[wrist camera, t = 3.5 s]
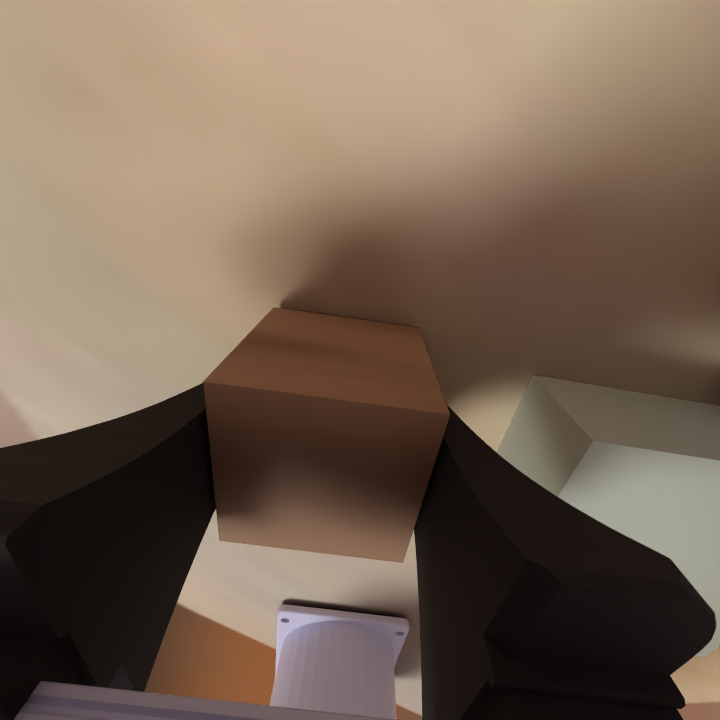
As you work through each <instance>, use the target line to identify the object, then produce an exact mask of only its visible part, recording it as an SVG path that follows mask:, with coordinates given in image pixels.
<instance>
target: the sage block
mask: <svg viewBox="0 0 720 720" xmlns="http://www.w3.org/2000/svg"><path fill="white" fill-rule="evenodd" d="M497 453H498V454H499V455H500V456H501V457H503V458H504V459H505V460H506V461H508V462H509V463H510V464H511V465H513V466H514V467H515V468H517V469H518V470H519V471H521V472H522V473H523V474H525V475H526V476H528V477H529V478H530V479H532V480H533V481H535V482H536V483H538V484H539V485H541V486H542V487H544V488H545V489H547V490H548V491H550V492H551V493H553V494H554V495H556V496H557V497H559V498H560V499H562V500H564V501H565V502H567V503H568V504H570V505H572V506H573V507H575V508H577V509H578V510H580V511H582V512H584V513H585V514H587V515H589V516H591V517H592V518H594V519H596V520H597V521H599V522H601V523H603V524H604V525H606V526H608V527H610V528H612V529H614V530H616V531H618V532H620V533H622V534H623V535H625V536H627V537H629V538H631V539H633V540H635V541H637V542H639V543H641V544H643V545H645V546H647V547H649V548H651V549H653V550H655V551H657V552H659V553H661V554H663V555H664V556H666V557H668V558H670V559H671V560H672V561H673V562H674V564H675V565H676V566H677V567H678V568H679V570H680V571H681V572H682V573H683V574H684V576H685V577H686V578H687V579H688V581H689V582H690V583H691V584H692V585H693V587H694V588H695V589H696V590H697V592H698V593H699V594H700V595H701V596H702V598H703V599H704V600H705V601H706V602H707V604H708V605H709V606H710V607H711V609H712V610H713V611H714V612H715V617H716V623H717V624H716V630H715V633H714V635H713V637H712V640H711V641H710V642H709V643H708V644H707V645H706V646H705V647H704V648H703V649H702V650H701V651H700V652H699V653H697V654H696V655H695V656H697V657H706V656H707V655H709V654H710V653H711V652H713V651H714V650H716V649H717V648H718V647H720V406H719V405H713V404H707V403H701V402H695V401H689V400H683V399H676V398H670V397H664V396H658V395H652V394H646V393H640V392H634V391H628V390H622V389H615V388H609V387H603V386H597V385H591V384H585V383H579V382H573V381H567V380H560V379H554V378H548V377H542V376H536V375H533V376H532V378H531V380H530V382H529V384H528V386H527V388H526V391H525V393H524V395H523V397H522V399H521V401H520V403H519V406H518V408H517V410H516V412H515V414H514V416H513V418H512V420H511V423H510V425H509V427H508V429H507V431H506V433H505V435H504V438H503V440H502V442H501V444H500V446H499V448H498V450H497Z"/></svg>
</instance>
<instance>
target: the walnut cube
mask: <svg viewBox="0 0 720 720" xmlns="http://www.w3.org/2000/svg"><path fill="white" fill-rule="evenodd" d="M203 384H204V394H205V403H206V413H207V423H208V433H209V443H210V453H211V463H212V472H213V482H214V492H215V502H216V512H217V522H218V531H219V541H227V542H235V543H243V544H251V545H260V546H268V547H276V548H284V549H293V550H301V551H309V552H317V553H326V554H334V555H342V556H350V557H359V558H367V559H375V560H383V561H392V562H400V563H403V561H404V558H405V555H406V552H407V548H408V545H409V542H410V539H411V536H412V533H413V530H414V526H415V523H416V520H417V517H418V514H419V511H420V508H421V504H422V501H423V498H424V495H425V492H426V489H427V486H428V482H429V479H430V476H431V473H432V470H433V467H434V464H435V461H436V457H437V454H438V451H439V448H440V445H441V442H442V439H443V435H444V432H445V429H446V426H447V423H448V420H449V417H450V413H449V410H448V407H447V404H446V402H445V399H444V396H443V393H442V390H441V388H440V385H439V382H438V379H437V377H436V374H435V371H434V368H433V366H432V363H431V360H430V357H429V355H428V352H427V349H426V346H425V343H424V341H423V338H422V335H421V332H420V330H419V328H417V327H410V326H403V325H396V324H389V323H382V322H374V321H367V320H360V319H353V318H346V317H339V316H332V315H324V314H317V313H310V312H303V311H296V310H289V309H281V308H273V309H272V310H271V311H270V312H269V313H268V314H267V315H266V316H265V317H264V318H263V319H262V320H261V321H260V322H259V324H258V325H257V326H256V327H255V328H254V329H253V330H252V331H251V332H250V333H249V334H248V335H247V336H246V337H245V338H244V339H243V340H242V341H241V342H240V343H239V345H238V346H237V347H236V348H235V349H234V350H233V351H232V352H231V353H230V354H229V355H228V356H227V357H226V358H225V359H224V360H223V361H222V362H221V363H220V365H219V366H218V367H217V368H216V369H215V370H214V371H213V372H212V373H211V374H210V375H209V376H208V377H207V378H206V379H205V380H204V381H203Z"/></svg>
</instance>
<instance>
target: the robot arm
mask: <svg viewBox="0 0 720 720" xmlns="http://www.w3.org/2000/svg"><path fill="white" fill-rule="evenodd" d="M447 407H448V410H449V413H450V417H449V420H448V423H447V426H446V429H445V432H444V435H443V439H442V442H441V445H440V448H439V451H438V454H437V457H436V461H435V464H434V467H433V470H432V473H431V476H430V479H429V482H428V486H427V489H426V492H425V495H424V498H423V501H422V504H421V508H420V511H419V514H418V517H417V520H416V523H415V526H414V534H415V544H416V559H417V574H418V593H419V612H420V639H421V671H422V720H683V719H682V717H681V715H680V714H679V712H678V710H677V709H682V708H683V707H684V706H685V699H684V697H683V696H682V694H681V692H680V691H679V689H678V688H677V686H676V684H675V683H674V681H673V680H672V678H671V676H670V675H671V674H672V673H673V672H675V671H676V670H677V669H678V668H680V667H681V666H682V665H683V664H685V663H686V662H687V661H689V660H690V659H691V658H692V657H694V656H695V655H696V654H697V653H699V652H700V651H701V650H702V649H703V648H704V647H705V646H706V645H707V644H708V643H709V642H710V641H711V640H712V637H713V635H714V633H715V630H716V624H717V623H716V617H715V612H714V611H713V610H712V609H711V607H710V606H709V605H708V604H707V602H706V601H705V600H704V599H703V598H702V596H701V595H700V594H699V593H698V592H697V590H696V589H695V588H694V587H693V585H692V584H691V583H690V582H689V581H688V579H687V578H686V577H685V576H684V574H683V573H682V572H681V571H680V570H679V568H678V567H677V566H676V565H675V564H674V562H673V561H672V560H671V559H670V558H668V557H666V556H664V555H663V554H661V553H659V552H657V551H655V550H653V549H651V548H649V547H647V546H645V545H643V544H641V543H639V542H637V541H635V540H633V539H631V538H629V537H627V536H625V535H623V534H622V533H620V532H618V531H616V530H614V529H612V528H610V527H608V526H606V525H604V524H603V523H601V522H599V521H597V520H596V519H594V518H592V517H591V516H589V515H587V514H585V513H584V512H582V511H580V510H578V509H577V508H575V507H573V506H572V505H570V504H568V503H567V502H565V501H564V500H562V499H560V498H559V497H557V496H556V495H554V494H553V493H551V492H550V491H548V490H547V489H545V488H544V487H542V486H541V485H539V484H538V483H536V482H535V481H533V480H532V479H530V478H529V477H528V476H526V475H525V474H523V473H522V472H521V471H519V470H518V469H517V468H515V467H514V466H513V465H511V464H510V463H509V462H508V461H506V460H505V459H504V458H503V457H501V456H500V455H499V454H498V453H496V452H495V451H494V450H493V449H492V448H491V447H489V446H488V445H487V444H486V443H485V442H484V441H483V440H482V439H481V438H480V437H478V436H477V435H476V434H475V433H474V432H473V431H472V430H471V429H470V428H469V427H468V426H467V425H466V424H465V423H464V422H463V421H462V420H461V419H460V418H459V417H458V416H457V415H456V414H455V413H454V412H453V411H452V410H451V408H450V407H449V406H448V405H447ZM215 509H216V502H215V492H214V482H213V472H212V463H211V453H210V443H209V433H208V423H207V413H206V403H205V394H204V384H203V383H202V384H200V385H198V386H196V387H193V388H191V389H189V390H187V391H185V392H182V393H180V394H178V395H176V396H173V397H171V398H169V399H167V400H165V401H162V402H160V403H157V404H155V405H152V406H150V407H147V408H145V409H142V410H139V411H136V412H134V413H131V414H128V415H125V416H122V417H119V418H116V419H113V420H110V421H106V422H103V423H99V424H96V425H93V426H89V427H86V428H82V429H79V430H76V431H72V432H68V433H65V434H61V435H56V436H52V437H48V438H44V439H40V440H36V441H31V442H27V443H22V444H18V445H13V446H8V447H4V448H0V720H398V719H396V700H395V678H394V667H395V664H396V662H397V659H398V657H399V654H400V652H401V649H402V647H403V644H404V642H405V639H406V637H407V634H408V632H409V622H408V620H406V619H404V618H398V617H389V616H381V615H372V614H364V613H355V612H347V611H338V610H329V609H321V608H312V607H304V606H295V605H281V606H280V607H279V609H278V613H277V638H276V672H275V673H276V674H275V682H274V687H273V692H272V697H271V702H270V706H269V705H260V704H250V703H241V702H232V701H222V700H213V699H203V698H195V697H185V696H177V695H167V694H157V693H148V692H144V690H145V687H146V684H147V682H148V679H149V676H150V673H151V671H152V668H153V665H154V662H155V659H156V657H157V654H158V651H159V648H160V646H161V643H162V640H163V637H164V635H165V632H166V629H167V626H168V624H169V621H170V619H171V616H172V613H173V611H174V608H175V606H176V603H177V600H178V598H179V595H180V593H181V590H182V587H183V585H184V582H185V580H186V577H187V575H188V572H189V570H190V567H191V565H192V563H193V560H194V558H195V555H196V553H197V550H198V548H199V545H200V543H201V541H202V538H203V536H204V534H205V531H206V529H207V527H208V524H209V522H210V520H211V517H212V515H213V513H214V511H215ZM676 708H677V709H676Z"/></svg>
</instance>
